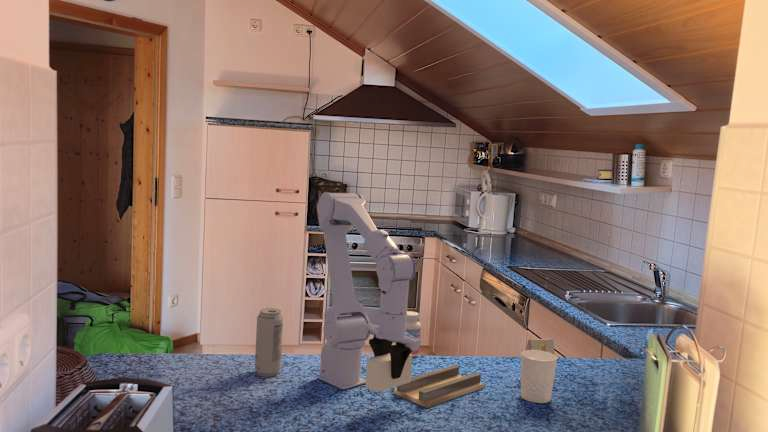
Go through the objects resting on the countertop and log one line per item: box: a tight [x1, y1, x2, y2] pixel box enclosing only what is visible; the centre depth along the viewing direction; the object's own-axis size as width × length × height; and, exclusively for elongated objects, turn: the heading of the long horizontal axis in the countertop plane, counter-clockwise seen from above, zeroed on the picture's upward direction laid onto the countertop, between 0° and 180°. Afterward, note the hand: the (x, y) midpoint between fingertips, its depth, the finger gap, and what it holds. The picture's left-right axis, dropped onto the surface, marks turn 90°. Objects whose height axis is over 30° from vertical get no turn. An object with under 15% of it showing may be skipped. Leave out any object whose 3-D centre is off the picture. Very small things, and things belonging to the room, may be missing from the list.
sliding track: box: [393, 364, 484, 409], centre depth 149 cm, size 10×20×3 cm, turn 135°
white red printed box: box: [524, 338, 556, 356], centre depth 161 cm, size 4×7×10 cm, turn 107°
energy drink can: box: [254, 307, 284, 377], centre depth 153 cm, size 6×6×15 cm
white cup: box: [520, 350, 558, 404], centre depth 148 cm, size 8×8×10 cm
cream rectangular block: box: [365, 353, 413, 393], centre depth 136 cm, size 4×10×6 cm, turn 135°
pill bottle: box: [406, 310, 422, 358], centre depth 174 cm, size 6×6×11 cm
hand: (389, 374), depth 136 cm, fingers closed on cream rectangular block, 3 cm apart
